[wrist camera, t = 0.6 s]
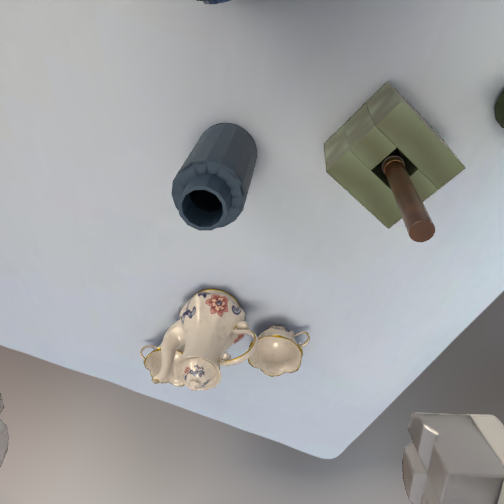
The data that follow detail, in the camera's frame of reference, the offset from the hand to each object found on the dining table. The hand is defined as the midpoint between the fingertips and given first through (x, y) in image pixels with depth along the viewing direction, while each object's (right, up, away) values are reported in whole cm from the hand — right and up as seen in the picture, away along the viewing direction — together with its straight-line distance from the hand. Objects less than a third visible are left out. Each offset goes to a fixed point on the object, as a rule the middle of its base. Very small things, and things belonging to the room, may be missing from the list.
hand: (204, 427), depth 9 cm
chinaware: (-4, -8, +63) cm, 64 cm away
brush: (+17, +17, +45) cm, 51 cm away
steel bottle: (-2, +16, +47) cm, 50 cm away
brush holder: (+17, +17, +45) cm, 51 cm away
